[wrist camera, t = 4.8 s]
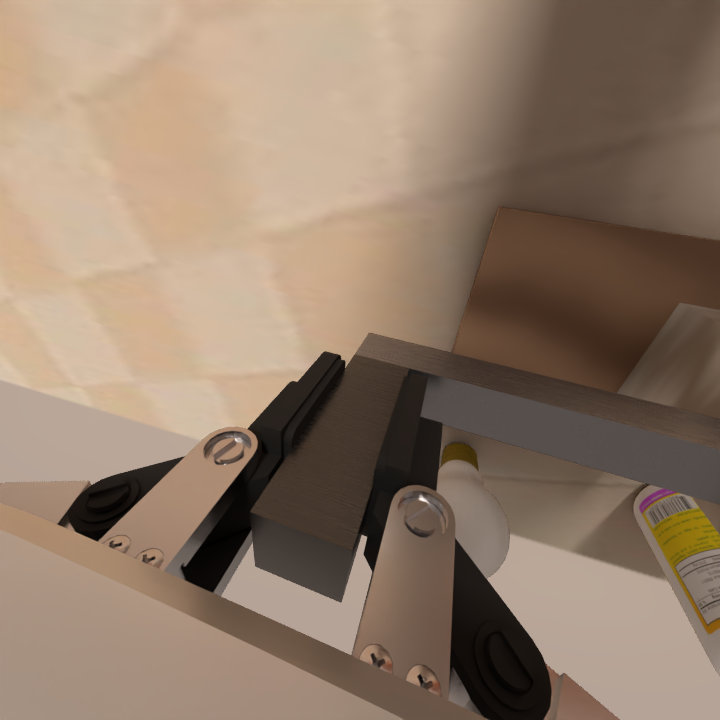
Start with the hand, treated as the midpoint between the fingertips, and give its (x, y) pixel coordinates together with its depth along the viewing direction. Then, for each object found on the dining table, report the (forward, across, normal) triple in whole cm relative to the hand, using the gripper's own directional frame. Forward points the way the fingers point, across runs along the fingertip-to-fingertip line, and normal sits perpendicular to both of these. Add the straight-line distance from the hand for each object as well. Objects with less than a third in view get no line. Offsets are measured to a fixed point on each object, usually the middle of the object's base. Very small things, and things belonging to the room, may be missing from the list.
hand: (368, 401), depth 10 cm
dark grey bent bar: (+3, -7, 0) cm, 8 cm away
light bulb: (+12, -6, +12) cm, 18 cm away
